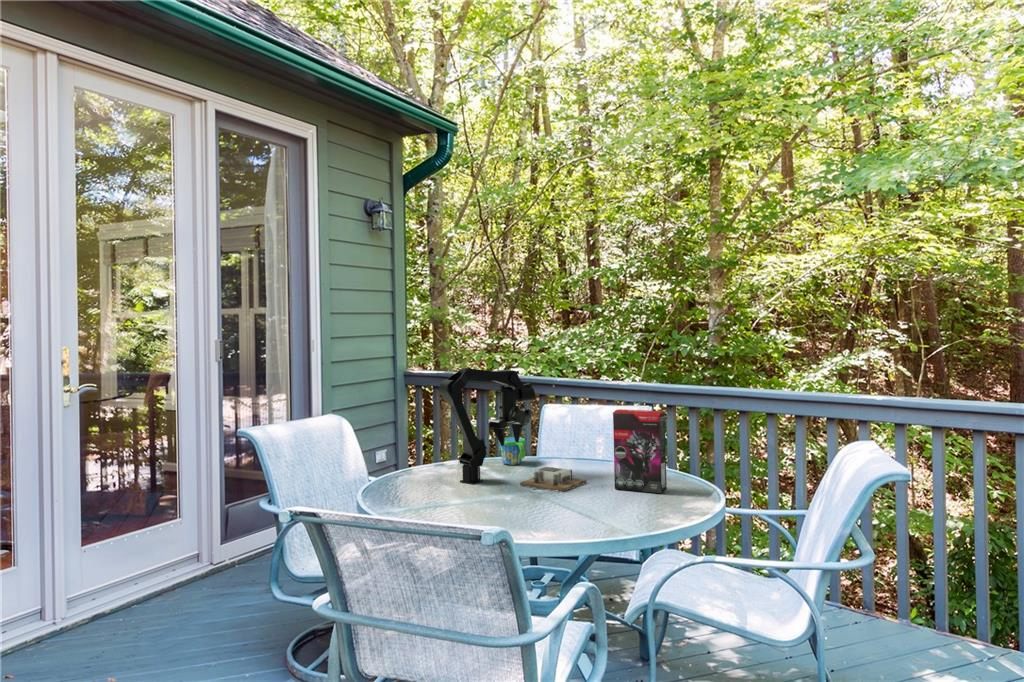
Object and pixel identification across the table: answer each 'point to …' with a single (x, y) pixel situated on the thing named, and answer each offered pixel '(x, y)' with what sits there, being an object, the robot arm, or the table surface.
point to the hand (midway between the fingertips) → (509, 444)
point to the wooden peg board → (552, 486)
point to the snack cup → (512, 451)
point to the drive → (548, 473)
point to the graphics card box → (639, 450)
